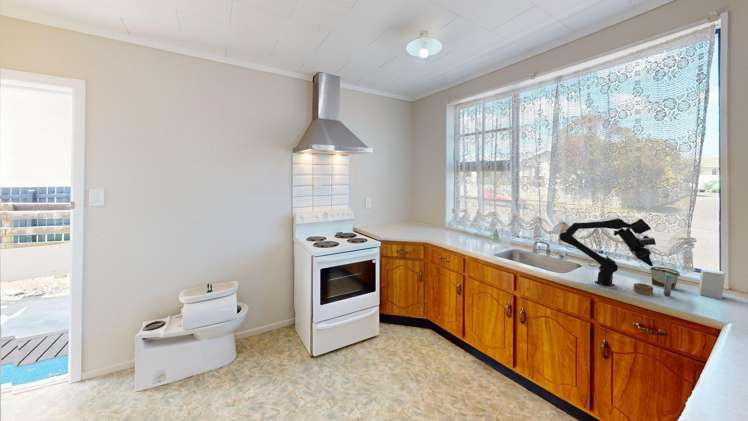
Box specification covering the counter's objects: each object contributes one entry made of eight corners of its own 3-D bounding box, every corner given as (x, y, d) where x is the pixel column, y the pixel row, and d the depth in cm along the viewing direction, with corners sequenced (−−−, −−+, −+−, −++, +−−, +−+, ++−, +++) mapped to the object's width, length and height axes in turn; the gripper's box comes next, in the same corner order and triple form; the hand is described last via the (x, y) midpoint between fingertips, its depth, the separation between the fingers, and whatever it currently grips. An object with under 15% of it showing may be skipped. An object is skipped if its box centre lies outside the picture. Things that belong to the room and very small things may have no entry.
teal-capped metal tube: (667, 296, 146) (669, 275, 145) (662, 294, 148) (664, 273, 147) (671, 296, 146) (673, 275, 145) (666, 294, 149) (668, 273, 148)
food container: (683, 289, 156) (685, 271, 155) (677, 291, 154) (679, 272, 153) (654, 282, 167) (656, 265, 167) (648, 283, 165) (650, 266, 164)
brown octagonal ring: (644, 294, 148) (645, 288, 148) (630, 289, 155) (630, 283, 154) (655, 294, 149) (656, 287, 149) (641, 289, 156) (641, 282, 156)
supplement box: (722, 299, 143) (725, 274, 142) (700, 295, 148) (702, 271, 147) (719, 295, 148) (722, 271, 147) (698, 291, 154) (700, 268, 152)
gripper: (650, 233, 145) (673, 261, 141) (642, 229, 161) (662, 253, 157) (626, 244, 151) (647, 270, 147) (620, 238, 166) (639, 262, 162)
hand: (650, 264), depth 153 cm, fingers open, 9 cm apart
